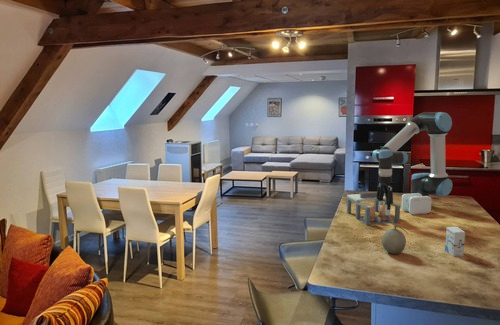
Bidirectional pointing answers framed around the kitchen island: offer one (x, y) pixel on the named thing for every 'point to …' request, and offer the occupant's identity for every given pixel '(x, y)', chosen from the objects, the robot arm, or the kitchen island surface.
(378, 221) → the housing
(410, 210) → the cable organizer
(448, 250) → the ink box
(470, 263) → the kitchen island surface
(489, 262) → the kitchen island surface
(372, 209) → the seated rounded capsule
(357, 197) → the lid
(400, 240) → the fruit
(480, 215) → the kitchen island surface
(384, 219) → the pink rounded capsule
